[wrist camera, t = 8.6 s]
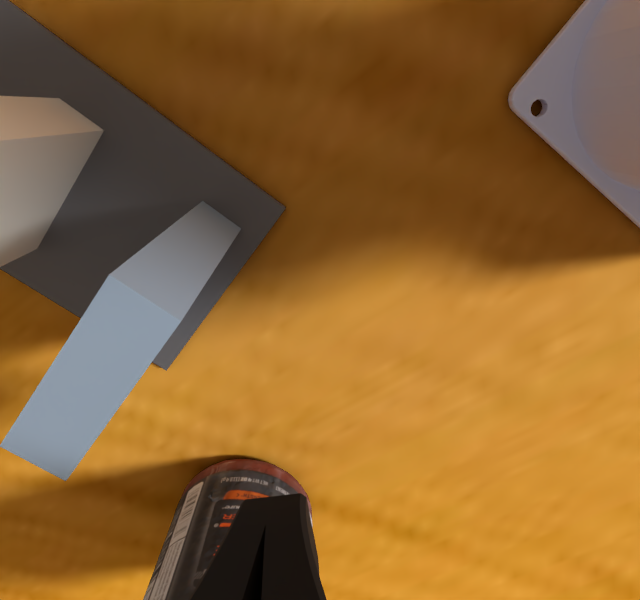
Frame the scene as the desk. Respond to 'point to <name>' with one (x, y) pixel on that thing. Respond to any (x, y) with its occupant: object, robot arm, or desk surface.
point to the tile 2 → (38, 167)
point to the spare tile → (118, 341)
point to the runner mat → (122, 181)
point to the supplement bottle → (211, 521)
